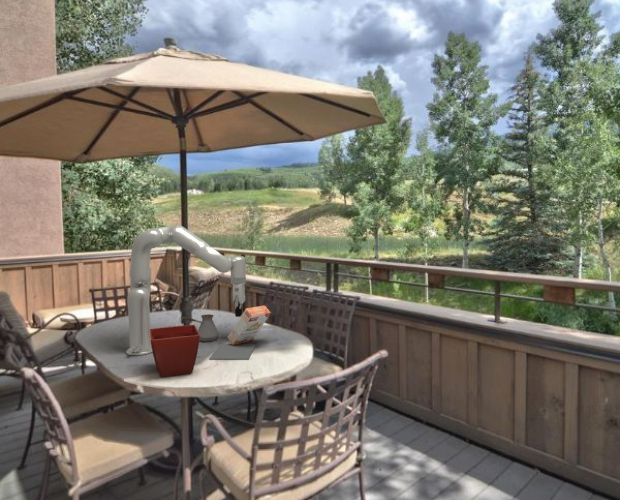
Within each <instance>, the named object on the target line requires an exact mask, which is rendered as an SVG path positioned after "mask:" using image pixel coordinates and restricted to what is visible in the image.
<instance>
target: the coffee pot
mask: <svg viewBox="0 0 620 500" xmlns="http://www.w3.org/2000/svg"><path fill="white" fill-rule="evenodd" d="M200 317H201V320H198V319H194V318H191V317H187V316H181V317H180V318H179V321H182V320H183V319H184V320H187V321H191V322H195V323H199V324H200V325H199V328H198V329H197V330H198V332H199V334H200V339H199V342H202V343H203V342H204V343H209V342H213V341H216V339H217V338H218V337H219V331H218V329H217V327H216V325H215V321H214V320H213V317H214V315H213V314H202V315H200Z"/></svg>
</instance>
